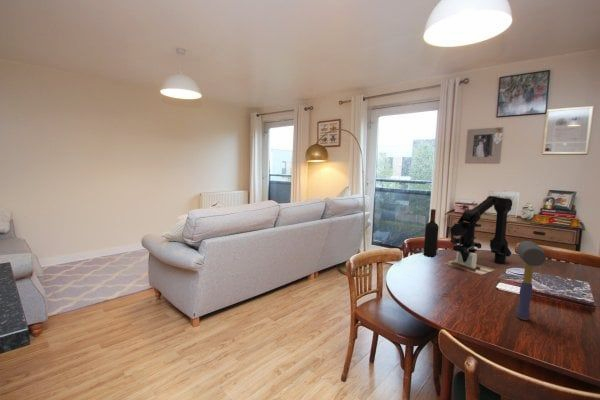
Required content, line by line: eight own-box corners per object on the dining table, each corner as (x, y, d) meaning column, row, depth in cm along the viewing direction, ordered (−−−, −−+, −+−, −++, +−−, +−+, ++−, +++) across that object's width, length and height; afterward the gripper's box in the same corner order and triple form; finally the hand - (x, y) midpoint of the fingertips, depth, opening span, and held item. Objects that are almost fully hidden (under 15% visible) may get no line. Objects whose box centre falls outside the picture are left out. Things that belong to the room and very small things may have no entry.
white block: (455, 263, 170) (456, 249, 169) (458, 262, 171) (459, 249, 170) (473, 268, 161) (474, 254, 160) (476, 267, 163) (477, 253, 162)
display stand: (458, 260, 181) (458, 256, 181) (495, 271, 164) (495, 266, 163) (443, 264, 173) (444, 260, 173) (480, 276, 156) (481, 272, 155)
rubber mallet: (538, 329, 107) (549, 249, 103) (513, 323, 110) (522, 246, 106) (531, 313, 118) (540, 240, 114) (508, 309, 121) (516, 238, 117)
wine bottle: (420, 254, 191) (424, 208, 187) (429, 253, 195) (432, 208, 191) (430, 258, 185) (434, 210, 181) (439, 256, 188) (442, 210, 184)
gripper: (463, 229, 176) (461, 254, 178) (444, 233, 166) (442, 260, 168) (483, 233, 166) (480, 260, 168) (464, 237, 156) (462, 266, 158)
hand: (466, 261), depth 166 cm, fingers closed on white block, 3 cm apart
